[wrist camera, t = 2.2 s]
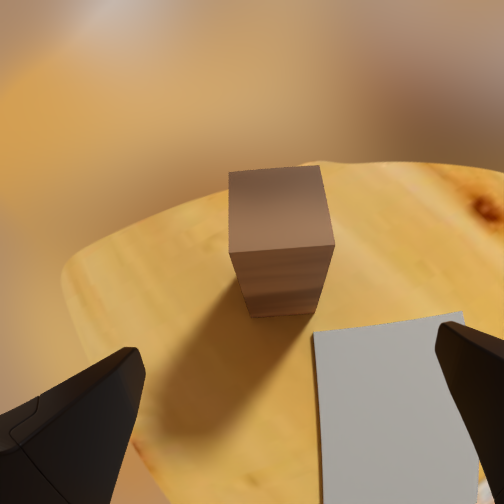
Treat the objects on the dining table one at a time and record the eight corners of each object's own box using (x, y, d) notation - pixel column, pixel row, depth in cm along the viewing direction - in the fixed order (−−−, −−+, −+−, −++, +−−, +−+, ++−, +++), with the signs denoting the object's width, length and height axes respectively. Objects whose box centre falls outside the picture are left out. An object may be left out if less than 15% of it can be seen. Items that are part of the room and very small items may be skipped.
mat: (475, 502, 13) (476, 503, 13) (323, 544, 14) (324, 546, 14) (460, 312, 21) (462, 310, 20) (313, 333, 21) (313, 332, 21)
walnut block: (314, 313, 22) (335, 244, 13) (251, 317, 22) (228, 252, 14) (308, 255, 24) (318, 165, 15) (248, 260, 25) (228, 172, 16)
